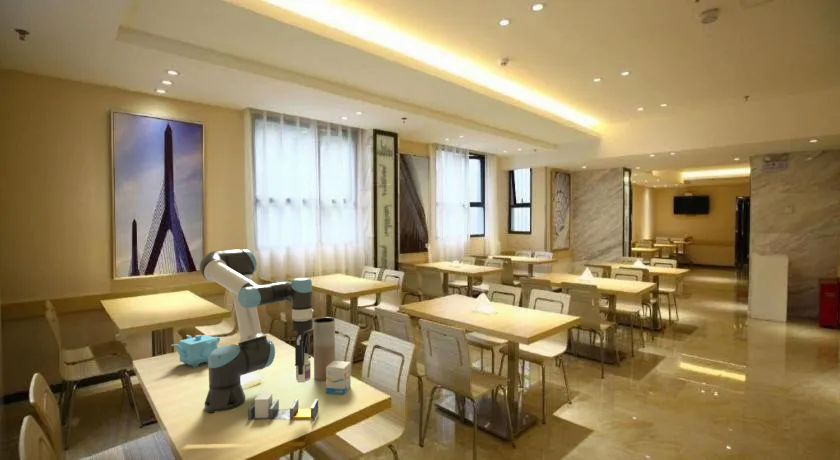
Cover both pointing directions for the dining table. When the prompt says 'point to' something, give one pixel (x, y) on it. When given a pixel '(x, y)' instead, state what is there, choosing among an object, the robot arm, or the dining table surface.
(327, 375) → the ink box
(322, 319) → the vase
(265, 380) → the dining table surface
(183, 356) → the teakettle
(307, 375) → the pill bottle
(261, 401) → the filler block
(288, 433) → the dining table surface
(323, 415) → the dining table surface
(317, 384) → the dining table surface
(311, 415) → the rack
